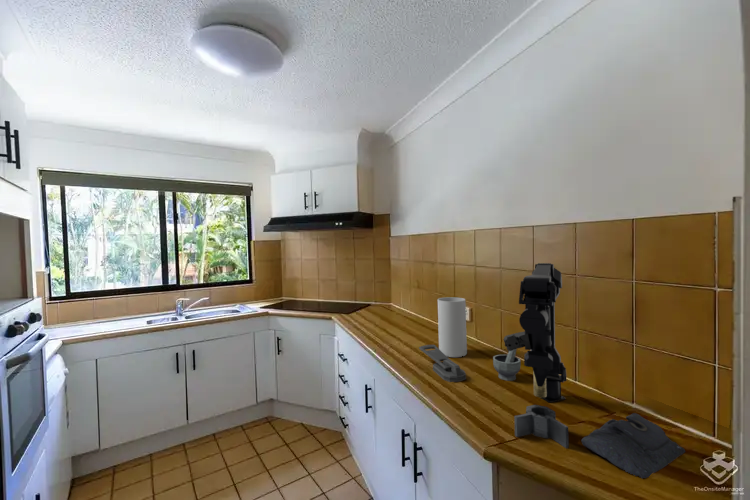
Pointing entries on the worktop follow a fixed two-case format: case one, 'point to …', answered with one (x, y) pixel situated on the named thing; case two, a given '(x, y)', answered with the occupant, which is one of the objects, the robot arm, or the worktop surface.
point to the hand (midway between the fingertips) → (539, 383)
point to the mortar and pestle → (507, 365)
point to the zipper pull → (444, 365)
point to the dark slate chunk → (633, 445)
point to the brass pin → (539, 389)
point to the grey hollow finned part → (541, 425)
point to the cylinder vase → (452, 326)
